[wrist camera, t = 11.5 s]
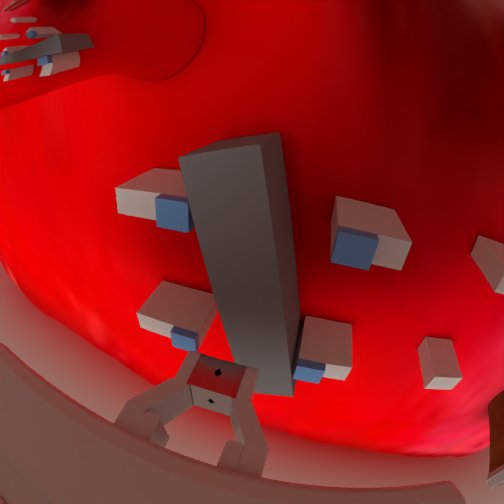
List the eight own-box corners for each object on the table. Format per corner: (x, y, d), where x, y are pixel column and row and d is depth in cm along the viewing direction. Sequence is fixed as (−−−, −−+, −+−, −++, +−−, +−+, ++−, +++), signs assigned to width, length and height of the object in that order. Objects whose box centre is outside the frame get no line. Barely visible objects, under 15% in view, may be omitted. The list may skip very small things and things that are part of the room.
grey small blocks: (504, 244, 13) (536, 283, 9) (442, 351, 18) (452, 395, 14) (154, 168, 17) (108, 191, 13) (165, 294, 22) (136, 332, 18)
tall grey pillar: (280, 132, 14) (259, 144, 10) (302, 345, 21) (293, 396, 17) (220, 140, 15) (178, 157, 11) (261, 342, 22) (244, 391, 18)
